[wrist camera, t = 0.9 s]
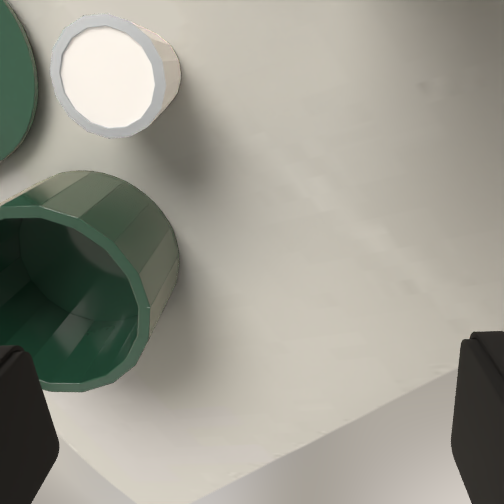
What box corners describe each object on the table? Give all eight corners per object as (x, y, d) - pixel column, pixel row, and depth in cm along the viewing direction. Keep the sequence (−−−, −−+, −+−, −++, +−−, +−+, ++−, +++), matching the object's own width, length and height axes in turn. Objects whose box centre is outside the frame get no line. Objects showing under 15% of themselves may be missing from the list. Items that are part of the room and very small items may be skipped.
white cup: (117, 133, 36) (78, 152, 29) (79, 36, 33) (27, 34, 27) (202, 107, 34) (182, 121, 28) (170, 4, 32) (139, -5, 25)
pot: (-8, 172, 38) (-91, 208, 29) (170, 167, 36) (134, 203, 28) (33, 325, 43) (-27, 390, 35) (188, 325, 42) (163, 394, 34)
